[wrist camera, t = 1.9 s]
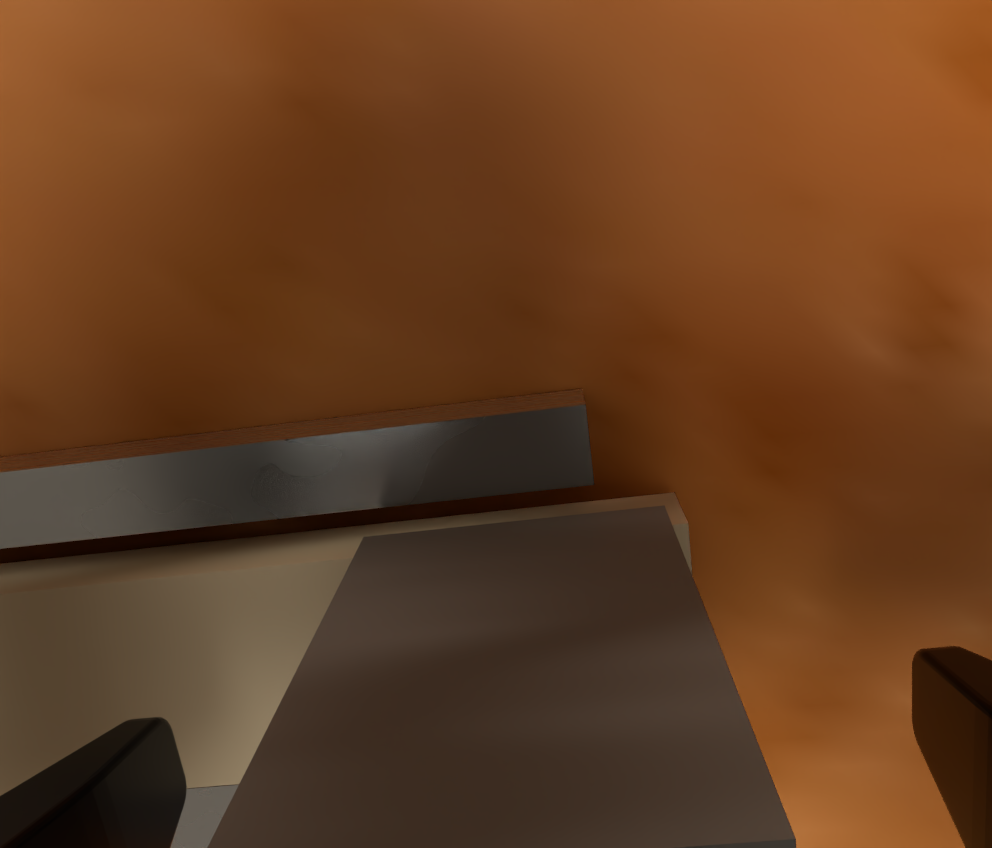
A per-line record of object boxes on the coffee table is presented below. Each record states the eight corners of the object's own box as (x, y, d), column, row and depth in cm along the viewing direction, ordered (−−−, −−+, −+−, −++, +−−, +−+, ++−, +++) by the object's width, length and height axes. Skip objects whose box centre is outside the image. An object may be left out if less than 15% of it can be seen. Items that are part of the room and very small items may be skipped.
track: (581, 388, 10) (586, 404, 10) (624, 776, 12) (629, 816, 11) (-352, 497, 11) (-416, 520, 11) (-202, 840, 13) (-249, 881, 12)
